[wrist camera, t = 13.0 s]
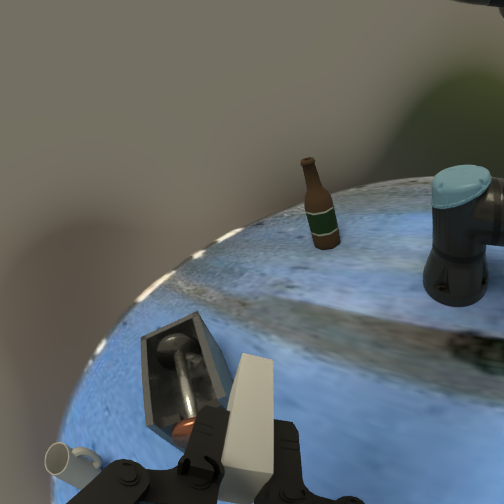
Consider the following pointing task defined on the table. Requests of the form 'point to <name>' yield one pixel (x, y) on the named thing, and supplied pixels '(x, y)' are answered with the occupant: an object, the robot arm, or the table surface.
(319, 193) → the beer bottle
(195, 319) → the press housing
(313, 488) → the table surface
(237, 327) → the table surface
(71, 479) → the cup
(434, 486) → the table surface
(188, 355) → the plunger
